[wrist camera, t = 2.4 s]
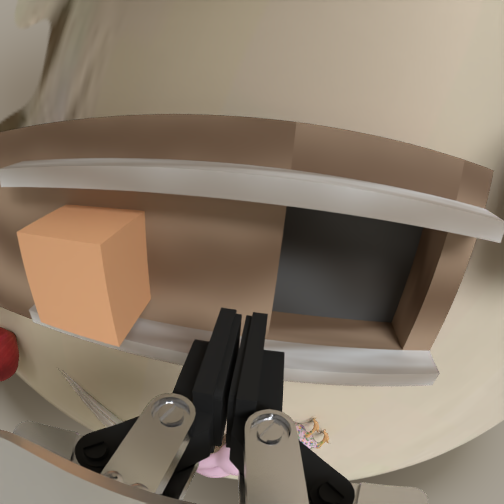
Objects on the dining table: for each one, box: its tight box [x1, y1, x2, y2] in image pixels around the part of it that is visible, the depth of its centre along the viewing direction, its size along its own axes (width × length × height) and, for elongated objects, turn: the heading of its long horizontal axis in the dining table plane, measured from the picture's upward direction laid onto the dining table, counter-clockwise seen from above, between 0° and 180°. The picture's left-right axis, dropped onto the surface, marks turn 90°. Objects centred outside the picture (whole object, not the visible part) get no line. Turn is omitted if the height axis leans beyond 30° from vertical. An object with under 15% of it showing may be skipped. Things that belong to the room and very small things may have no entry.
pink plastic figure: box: [196, 417, 330, 478], centre depth 23 cm, size 6×6×15 cm
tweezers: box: [59, 370, 123, 428], centre depth 27 cm, size 17×5×2 cm, turn 32°
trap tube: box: [0, 114, 504, 386], centre depth 15 cm, size 14×34×5 cm, turn 85°
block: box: [17, 204, 151, 347], centre depth 13 cm, size 5×5×4 cm
